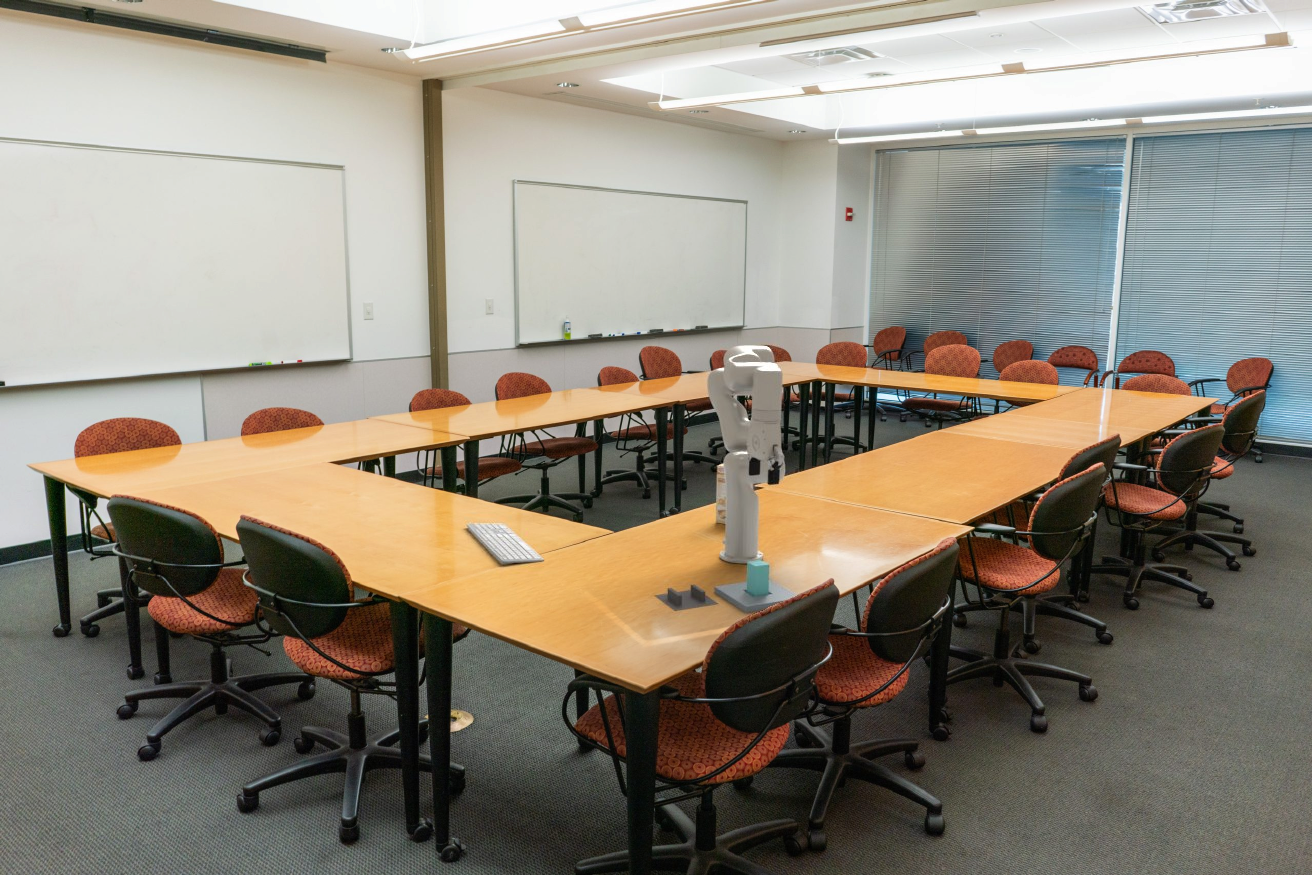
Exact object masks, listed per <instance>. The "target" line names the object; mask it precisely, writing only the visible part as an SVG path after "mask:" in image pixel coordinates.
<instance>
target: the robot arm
mask: <svg viewBox="0 0 1312 875" xmlns="http://www.w3.org/2000/svg"><path fill="white" fill-rule="evenodd" d="M774 355H775V354H774V353H773V350H772V349H771V348H770V347H768V346H766V345H736V346H733V347H730V348H729V349H728V350H726V351H725V353H724V356H723V365H724V366H723V367H721V368H720V367H719V368H715V369H713V370H712V371H711V372H709V374H708V376H707V379H706V380H707V382H706V385H707V394H708V397H709V400H710V404H711V405H712V407H713V409H714V410H715V412H716V415H717V416H718V420H719V425H720V430H721V434H722V436H721V437H722V441H723V444H724V445H723V446H724V448H725V449H726V450H727V451H728V453H727V454H726V455H725V457H723V458H724V459H723V463H722V464H723V466H724V475H725V483H726V524H725V531H724V533H725V534H724V537H725V538H724V539H721V540H722V541H721V543H722V544H723V545H724V549H722V550H721V551H720V552H719V558H720V559H721V560H723V561H724V562H727V563H732V564H747V562H751V561H757V560H762V561H763V559H764V554H763V552H762V551H760V550H758V548H759V521H760V517H759V515H760V500H759V496H758V494H757V492H756V491H755V490H754V488H753V489H752V488H751V486H750V485H751V484H753V485H754V484H767V485H768V486H773V485H779V484H780V482H781V481H782V480H783V479H784V478H785V474H786V464H785V455H784V453H783V450H782V429H781V421H782V399H783V398H782V397H783V376H784V375H783V371H782V369H781V368H780V367H779V365H778V364H776V363H775V356H774ZM733 396H751V397H752V398H751V399H752V400H751V401H752V402H751V418H750V420H749V417H748V413H747V412H748V411H747V409H746V408H745V407H744V405H743V404H742V403H740V401H739V400H737V399H736V398H735V397H733Z"/></svg>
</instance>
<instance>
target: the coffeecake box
mask: <svg viewBox="0 0 1312 875" xmlns="http://www.w3.org/2000/svg"><path fill="white" fill-rule="evenodd" d="M750 486H751V488H752V489H753V490H754V484H751V485H750ZM715 492H716V493H715V494H716V495H715V496H716V497H715V498H716V499H715V501H716V502H715V504H716V505H715V523H716V524H718V523H719V524H723V525H726V483H725V475H724V466H723V463H721V464H719V465H716V491H715Z"/></svg>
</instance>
